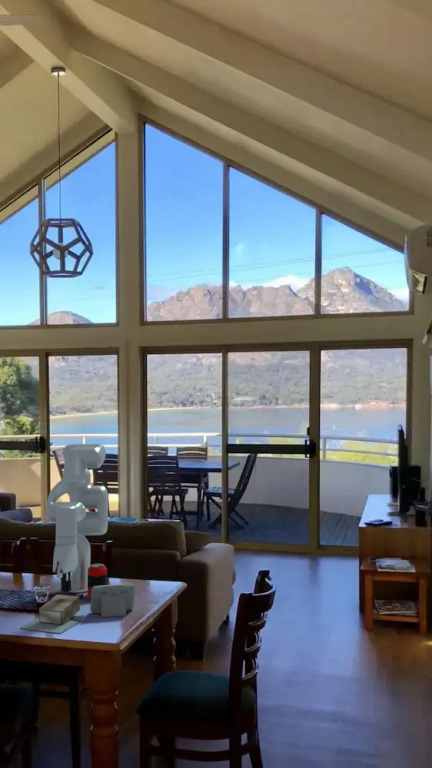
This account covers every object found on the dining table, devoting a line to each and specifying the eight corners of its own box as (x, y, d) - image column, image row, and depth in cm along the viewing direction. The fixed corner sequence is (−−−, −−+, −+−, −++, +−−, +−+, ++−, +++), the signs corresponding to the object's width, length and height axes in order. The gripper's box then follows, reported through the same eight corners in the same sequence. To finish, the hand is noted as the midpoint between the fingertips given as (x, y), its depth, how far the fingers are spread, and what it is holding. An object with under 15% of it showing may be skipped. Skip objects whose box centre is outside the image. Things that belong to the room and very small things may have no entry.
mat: (39, 617, 233) (39, 616, 233) (79, 622, 228) (79, 621, 228) (19, 628, 222) (19, 627, 222) (60, 634, 217) (60, 632, 217)
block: (57, 594, 238) (38, 609, 226) (79, 596, 235) (60, 611, 223) (58, 607, 238) (39, 622, 227) (80, 609, 235) (62, 625, 224)
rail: (45, 614, 236) (45, 610, 236) (84, 619, 231) (84, 615, 231) (43, 616, 235) (43, 612, 235) (82, 620, 230) (82, 616, 230)
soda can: (96, 599, 255) (96, 568, 256) (83, 596, 260) (83, 565, 260) (110, 595, 261) (110, 564, 262) (97, 591, 266) (97, 562, 266)
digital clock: (135, 609, 244) (135, 580, 244) (134, 616, 235) (134, 587, 235) (91, 609, 242) (91, 581, 243) (88, 617, 234) (88, 587, 234)
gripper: (68, 535, 244) (67, 584, 243) (45, 543, 230) (45, 595, 229) (86, 536, 241) (85, 586, 241) (64, 544, 227) (64, 597, 227)
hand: (66, 590), depth 235 cm, fingers closed
